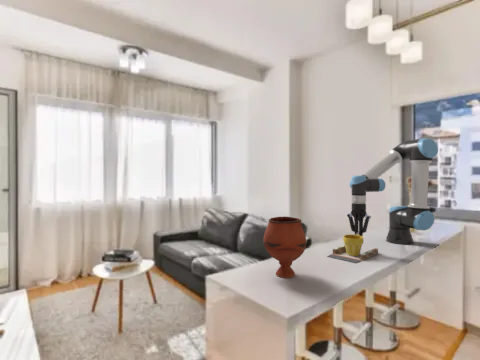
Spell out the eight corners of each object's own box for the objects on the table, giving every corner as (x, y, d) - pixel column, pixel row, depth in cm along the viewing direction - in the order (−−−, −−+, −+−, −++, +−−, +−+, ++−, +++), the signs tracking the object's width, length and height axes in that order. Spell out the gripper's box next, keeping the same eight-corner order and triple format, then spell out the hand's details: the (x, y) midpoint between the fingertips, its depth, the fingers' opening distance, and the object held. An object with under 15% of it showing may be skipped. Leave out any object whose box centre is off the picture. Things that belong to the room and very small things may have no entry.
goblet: (278, 264, 144) (277, 214, 143) (314, 273, 131) (314, 218, 131) (255, 275, 129) (254, 219, 128) (293, 286, 117) (293, 224, 116)
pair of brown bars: (348, 247, 175) (348, 242, 175) (378, 253, 162) (378, 248, 162) (332, 253, 162) (332, 248, 162) (363, 260, 149) (363, 255, 149)
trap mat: (332, 254, 161) (332, 253, 161) (361, 260, 149) (361, 259, 149) (327, 256, 156) (327, 255, 156) (356, 263, 145) (356, 262, 145)
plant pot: (364, 257, 154) (364, 239, 154) (344, 256, 157) (344, 238, 156) (361, 251, 164) (361, 234, 164) (342, 250, 167) (342, 234, 166)
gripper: (344, 202, 166) (344, 243, 167) (367, 204, 157) (367, 247, 157) (350, 201, 171) (350, 241, 172) (373, 203, 162) (373, 245, 163)
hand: (358, 244), depth 165 cm, fingers closed
